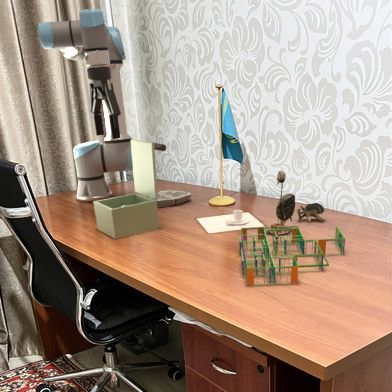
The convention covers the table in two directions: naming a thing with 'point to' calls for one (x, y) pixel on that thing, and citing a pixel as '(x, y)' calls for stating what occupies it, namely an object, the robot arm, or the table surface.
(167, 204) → the brain slice
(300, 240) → the wall framing model
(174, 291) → the table surface
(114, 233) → the chest
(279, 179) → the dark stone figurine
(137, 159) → the lid
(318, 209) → the brown animal figurine
